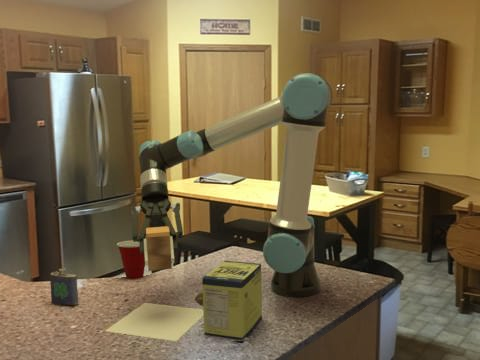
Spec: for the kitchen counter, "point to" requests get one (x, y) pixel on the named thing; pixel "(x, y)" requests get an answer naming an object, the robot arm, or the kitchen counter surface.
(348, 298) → the kitchen counter surface
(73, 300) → the flask
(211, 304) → the protein box
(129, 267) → the plastic cup
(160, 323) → the cream board
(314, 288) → the robot arm
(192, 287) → the kitchen counter surface
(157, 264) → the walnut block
